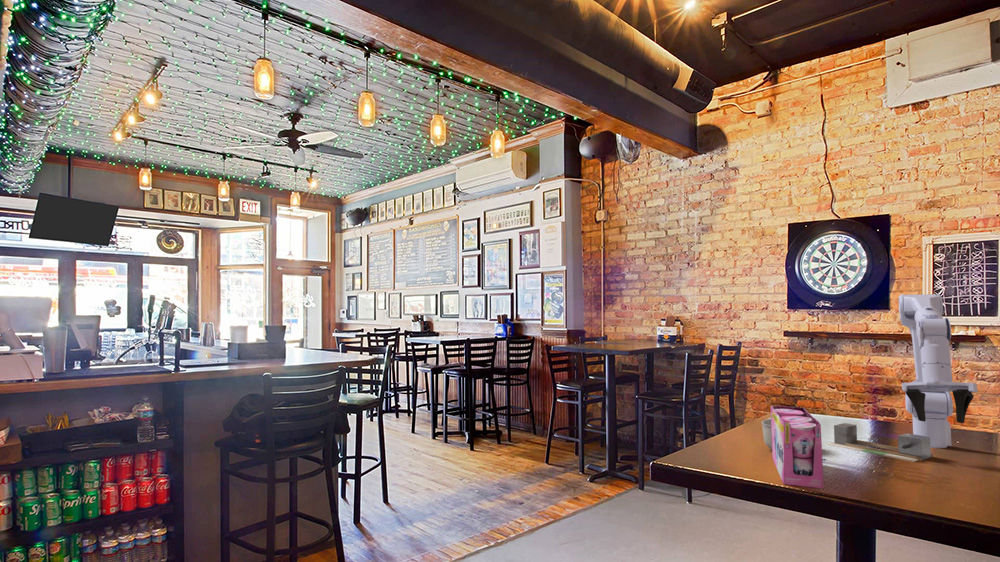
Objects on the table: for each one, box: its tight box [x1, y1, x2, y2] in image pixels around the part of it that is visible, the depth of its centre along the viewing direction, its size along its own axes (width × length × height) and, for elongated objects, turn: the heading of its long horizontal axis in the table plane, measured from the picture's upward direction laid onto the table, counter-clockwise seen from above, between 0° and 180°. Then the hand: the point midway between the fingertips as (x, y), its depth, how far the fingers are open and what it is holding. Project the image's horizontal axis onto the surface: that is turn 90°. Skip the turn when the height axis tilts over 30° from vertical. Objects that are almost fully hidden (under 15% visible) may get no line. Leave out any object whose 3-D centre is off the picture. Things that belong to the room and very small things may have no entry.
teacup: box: [761, 417, 772, 451], centre depth 146 cm, size 14×11×8 cm
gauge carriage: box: [897, 432, 932, 461], centre depth 134 cm, size 8×5×5 cm, turn 122°
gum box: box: [770, 405, 824, 489], centre depth 125 cm, size 24×8×14 cm, turn 159°
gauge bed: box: [826, 422, 933, 463], centre depth 141 cm, size 12×22×6 cm, turn 32°
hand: (940, 421), depth 129 cm, fingers open, 7 cm apart
